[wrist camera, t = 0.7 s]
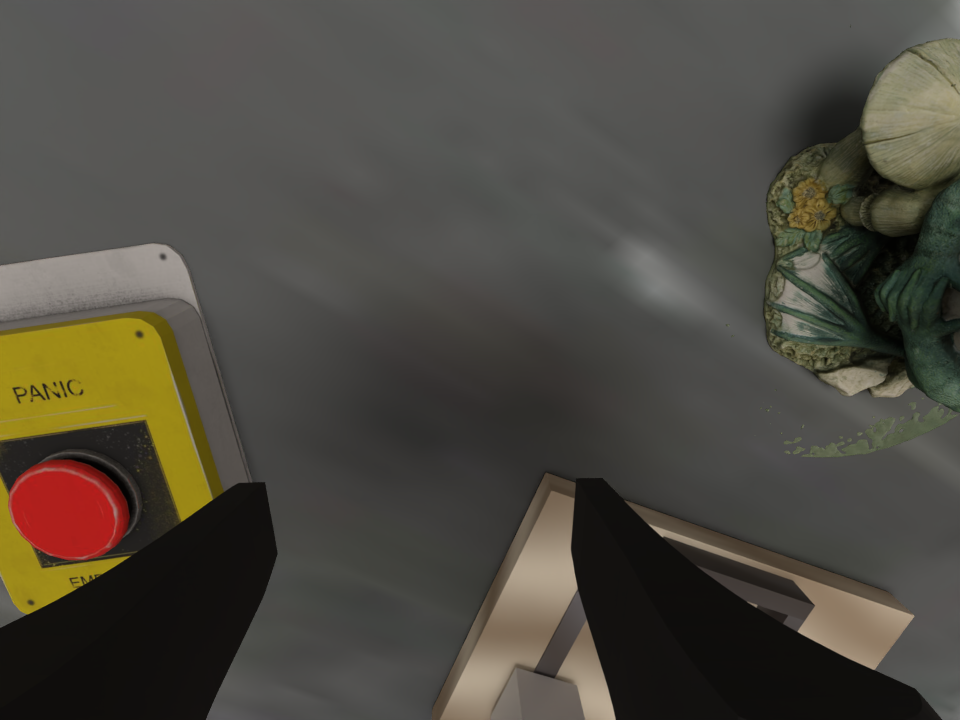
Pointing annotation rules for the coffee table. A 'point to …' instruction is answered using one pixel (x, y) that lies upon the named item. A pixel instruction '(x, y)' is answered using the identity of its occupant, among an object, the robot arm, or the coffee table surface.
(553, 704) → the grey slider
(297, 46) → the coffee table surface
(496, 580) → the control panel
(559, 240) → the coffee table surface
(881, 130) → the frog figurine
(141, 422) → the emergency button
